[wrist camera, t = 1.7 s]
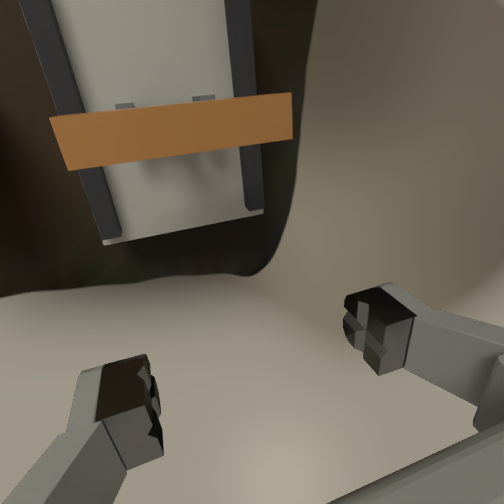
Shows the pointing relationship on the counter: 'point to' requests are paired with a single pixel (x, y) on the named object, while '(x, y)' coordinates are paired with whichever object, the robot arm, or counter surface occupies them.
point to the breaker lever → (171, 129)
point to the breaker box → (157, 103)
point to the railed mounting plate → (69, 102)
